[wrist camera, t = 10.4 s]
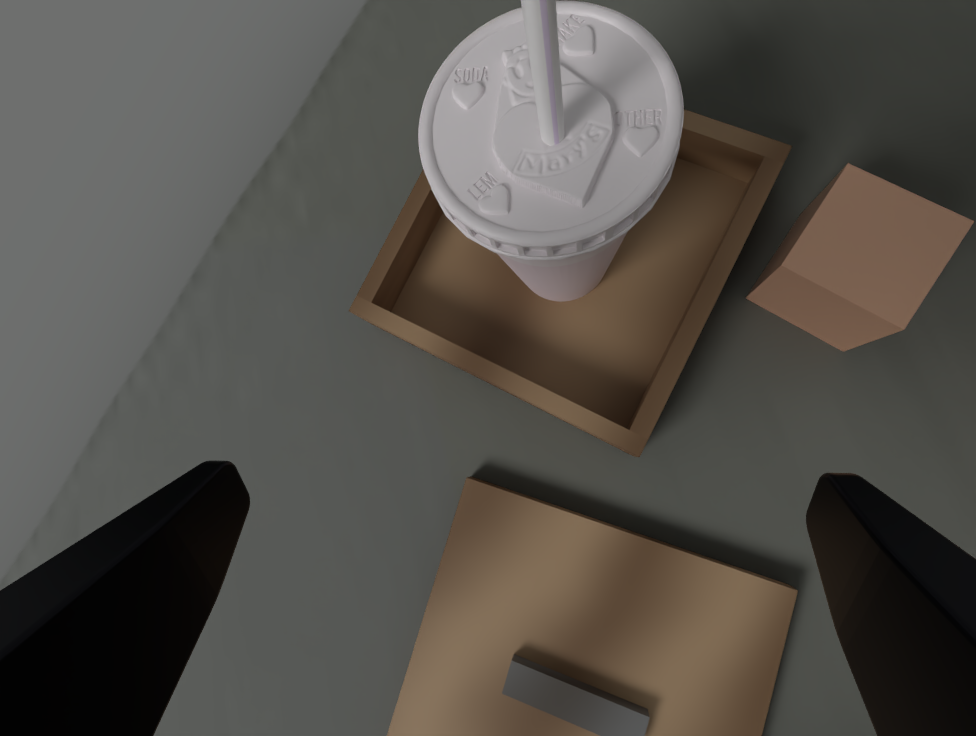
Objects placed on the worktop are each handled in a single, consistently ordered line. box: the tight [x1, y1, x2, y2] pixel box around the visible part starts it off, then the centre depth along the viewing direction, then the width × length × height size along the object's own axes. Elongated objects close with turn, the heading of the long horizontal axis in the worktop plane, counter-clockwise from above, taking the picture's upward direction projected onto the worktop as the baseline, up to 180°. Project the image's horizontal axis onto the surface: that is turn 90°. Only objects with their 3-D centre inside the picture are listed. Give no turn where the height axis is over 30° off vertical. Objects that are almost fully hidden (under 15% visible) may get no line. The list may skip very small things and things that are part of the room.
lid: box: [387, 476, 798, 736], centre depth 19 cm, size 12×12×1 cm
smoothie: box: [418, 0, 684, 302], centre depth 15 cm, size 6×6×14 cm
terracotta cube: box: [746, 163, 974, 352], centre depth 19 cm, size 4×4×4 cm
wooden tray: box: [349, 109, 792, 457], centre depth 21 cm, size 12×12×2 cm
